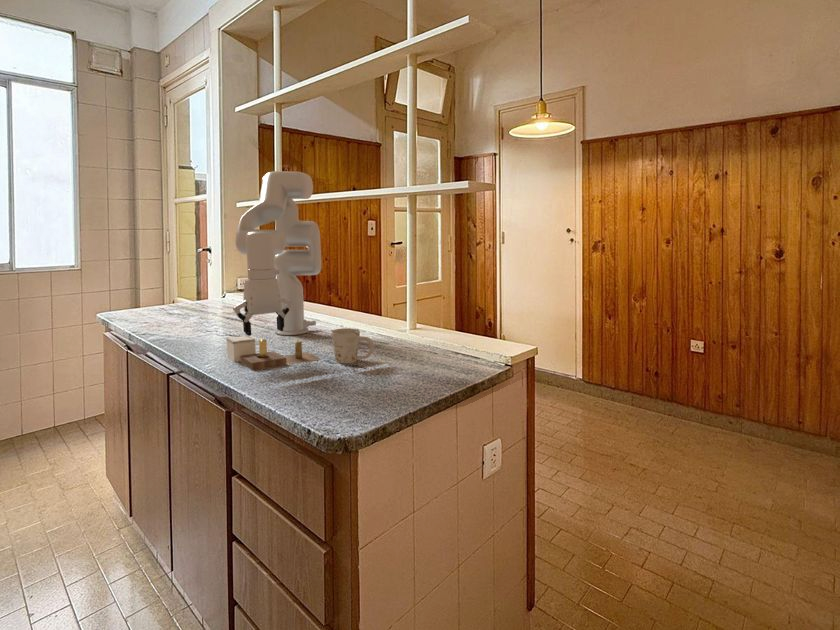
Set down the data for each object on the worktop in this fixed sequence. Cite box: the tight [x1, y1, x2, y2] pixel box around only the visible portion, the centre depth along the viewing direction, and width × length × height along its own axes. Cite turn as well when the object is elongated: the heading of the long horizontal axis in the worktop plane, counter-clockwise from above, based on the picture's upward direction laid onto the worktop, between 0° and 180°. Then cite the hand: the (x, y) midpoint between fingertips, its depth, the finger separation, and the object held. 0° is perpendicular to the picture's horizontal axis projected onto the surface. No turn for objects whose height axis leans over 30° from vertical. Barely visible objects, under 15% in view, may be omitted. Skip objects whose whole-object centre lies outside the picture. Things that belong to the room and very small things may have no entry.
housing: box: [226, 335, 257, 363], centre depth 156 cm, size 6×6×7 cm
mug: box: [330, 328, 375, 364], centre depth 154 cm, size 8×13×10 cm, turn 95°
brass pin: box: [258, 339, 268, 359], centre depth 150 cm, size 2×2×8 cm
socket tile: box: [239, 350, 288, 371], centre depth 150 cm, size 10×10×3 cm
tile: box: [283, 340, 321, 365], centre depth 156 cm, size 10×10×6 cm
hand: (264, 332), depth 152 cm, fingers open, 9 cm apart
